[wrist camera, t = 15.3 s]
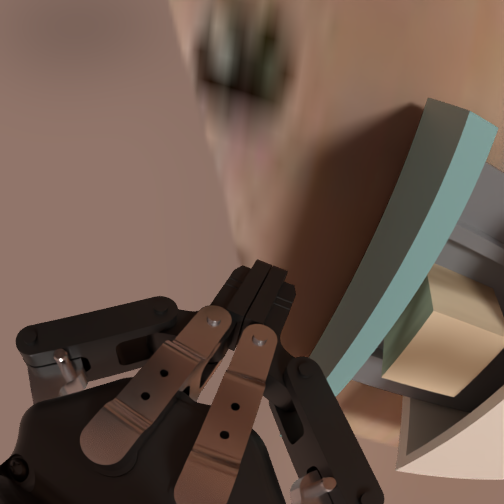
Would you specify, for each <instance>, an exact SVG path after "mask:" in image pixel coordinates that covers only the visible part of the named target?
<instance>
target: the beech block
mask: <svg viewBox="0 0 504 504" xmlns="http://www.w3.org/2000/svg"><path fill="white" fill-rule="evenodd" d="M503 348H504V317H503V314H502V311H501V308H500V305H499V303H498V300H497V298H496V295H495V292H494V290H493V288H490V287H488V286H486V285H484V284H482V283H479V282H477V281H475V280H472V279H470V278H468V277H466V276H463V275H461V274H459V273H456V272H454V271H452V270H449V269H447V268H444V267H442V266H440V265H437V264H435V263H434V264H433V266H432V268H431V269H430V271H429V273H428V274H427V276H426V278H425V279H424V281H423V282H422V284H421V285H420V287H419V289H418V290H417V292H416V293H415V295H414V296H413V298H412V299H411V301H410V302H409V304H408V305H407V307H406V308H405V310H404V311H403V312H402V314H401V315H400V317H399V318H398V320H397V321H396V322H395V324H394V325H393V327H392V328H391V329H390V331H389V332H388V333H387V335H386V336H385V337H384V347H383V362H382V374H381V377H382V378H385V379H388V380H392V381H395V382H399V383H402V384H406V385H409V386H413V387H417V388H420V389H424V390H428V391H432V392H435V393H439V394H443V395H447V396H451V397H455V396H456V395H457V394H458V393H459V392H460V391H461V390H463V389H464V388H465V387H466V386H467V385H468V384H469V383H470V382H471V381H472V380H473V379H474V378H475V377H476V376H477V375H478V374H479V373H480V372H481V371H482V370H483V369H484V368H485V367H486V366H487V365H488V364H489V363H490V362H491V361H492V360H493V359H494V358H495V357H496V356H497V355H498V354H499V352H500V351H501V350H502V349H503Z"/></svg>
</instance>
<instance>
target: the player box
mask: <svg viewBox="0 0 504 504" xmlns="http://www.w3.org/2000/svg"><path fill="white" fill-rule="evenodd" d="M395 470H396V471H401V472H407V473H414V474H422V475H430V476H438V477H449V478H462V479H489V480H493V479H495V480H499V479H501V480H503V479H504V385H503V386H502V387H501V388H500V389H499V390H498V391H496V392H495V393H494V394H493V395H492V396H491V397H489V398H488V399H487V400H486V401H485V402H483V403H482V404H481V405H480V406H478V407H477V408H476V409H475V410H473V411H472V412H471V413H469V412H465V411H460V410H456V409H452V408H448V407H444V406H440V405H436V404H432V403H428V402H424V401H421V400H417V399H413V398H410V397H406V396H403V402H402V416H401V428H400V438H399V446H398V455H397V462H396V469H395Z"/></svg>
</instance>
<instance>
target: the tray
mask: <svg viewBox="0 0 504 504" xmlns="http://www.w3.org/2000/svg"><path fill="white" fill-rule="evenodd" d="M497 130H498V127H496V126H494V125H493V124H491V123H490V122H488V121H486V120H485V119H483V118H481V117H479V116H478V115H476V114H474V113H473V112H471V111H468V110H466V109H463V108H460V107H457V106H454V105H451V104H448V103H445V102H441V101H438V100H435V99H431V98H428V99H427V102H426V105H425V108H424V111H423V114H422V117H421V120H420V123H419V126H418V129H417V131H416V134H415V137H414V140H413V142H412V145H411V148H410V151H409V153H408V156H407V158H406V161H405V164H404V166H403V169H402V171H401V174H400V176H399V179H398V181H397V184H396V186H395V188H394V191H393V193H392V195H391V198H390V200H389V202H388V205H387V207H386V209H385V212H384V214H383V216H382V218H381V221H380V223H379V225H378V227H377V229H376V232H375V234H374V236H373V238H372V240H371V242H370V244H369V247H368V249H367V251H366V253H365V255H364V257H363V259H362V261H361V263H360V265H359V267H358V269H357V271H356V273H355V275H354V277H353V279H352V281H351V283H350V285H349V287H348V289H347V290H346V292H345V294H344V296H343V298H342V300H341V302H340V304H339V306H338V307H337V309H336V311H335V313H334V315H333V317H332V318H331V320H330V322H329V324H328V325H327V327H326V329H325V331H324V333H323V334H322V336H321V338H320V339H319V341H318V343H317V345H316V346H315V348H314V350H313V351H312V353H311V355H310V356H309V358H310V359H312V360H314V361H315V362H316V363H317V364H318V365H319V366H320V368H321V370H322V372H323V374H324V376H325V377H326V379H327V381H328V383H329V385H330V387H331V389H332V391H333V393H334V395H335V397H336V396H337V395H338V394H339V393H340V392H341V391H342V389H343V388H344V387H345V386H346V385H347V384H348V382H349V381H350V380H354V381H357V382H360V383H363V384H366V385H370V386H373V387H376V388H379V389H382V390H386V391H389V392H392V393H396V394H399V395H403V396H406V397H410V398H413V399H417V400H421V401H424V402H428V403H432V404H436V405H440V406H444V407H448V408H452V409H456V410H460V411H465V412H469V413H471V412H472V411H473V410H475V409H476V408H477V407H478V406H480V405H481V404H482V403H483V402H485V401H486V400H487V399H488V398H489V397H491V396H492V395H493V394H494V393H495V392H496V391H498V390H499V389H500V388H501V387H502V386H503V385H504V348H503V349H502V350H501V351H500V352H499V354H498V355H497V356H496V357H495V358H494V359H493V360H492V361H491V362H490V363H489V364H488V365H487V366H486V367H485V368H484V369H483V370H482V371H481V372H480V373H479V374H478V375H477V376H476V377H475V378H474V379H473V380H472V381H471V382H470V383H469V384H468V385H467V386H466V387H465V388H464V389H463V390H461V391H460V392H459V393H458V394H457V395H456V396H455V397H451V396H447V395H443V394H439V393H435V392H432V391H428V390H424V389H420V388H417V387H413V386H409V385H406V384H402V383H399V382H395V381H392V380H388V379H385V378H382V377H381V374H382V362H383V347H384V337H385V336H386V335H387V333H388V332H389V331H390V329H391V328H392V327H393V325H394V324H395V322H396V321H397V320H398V318H399V317H400V315H401V314H402V312H403V311H404V310H405V308H406V307H407V305H408V304H409V302H410V301H411V299H412V298H413V296H414V295H415V293H416V292H417V290H418V289H419V287H420V285H421V284H422V282H423V281H424V279H425V278H426V276H427V274H428V273H429V271H430V269H431V268H432V266H433V264H434V263H435V264H437V265H440V266H442V267H444V268H447V269H449V270H452V271H454V272H456V273H459V274H461V275H463V276H466V277H468V278H470V279H472V280H475V281H477V282H479V283H482V284H484V285H486V286H488V287H490V288H493V290H494V292H495V295H496V298H497V300H498V303H499V305H500V308H501V311H502V314H503V317H504V172H502V171H501V170H499V169H497V168H496V167H494V166H492V165H491V164H489V163H487V162H486V159H487V157H488V154H489V152H490V149H491V147H492V144H493V141H494V139H495V136H496V133H497ZM280 437H282V436H281V434H280Z"/></svg>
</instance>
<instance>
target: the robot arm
mask: <svg viewBox="0 0 504 504" xmlns="http://www.w3.org/2000/svg"><path fill="white" fill-rule="evenodd" d="M287 272H288V271H286V270H284V269H281V268H278V267H276V266H272V265H271V264H268V263H265V262H263V261H260V260H258V259H257V260H256V262H255V263H254V265H253V267H252V268H251V269H250V268H248V267H245V266H241V267H239V268H237V269H235V270H234V271H233V272H232V274H231V276H230V277H229V279H228V280H227V281H226V283H225V285H224V286H223V287H222V289H221V290H220V291H219V293H218V294H217V296H216V297H215V299H214V300H213V302H212V303H211V305H210V306H205V307H203V308H202V309H200V310H199V311H196V312H192V311H184V310H179V309H178V308H177V305H176V303H175V302H174V301H173V300H171V299H170V298H167V297H163V296H157V297H152V298H148V299H144V300H140V301H136V302H131V303H127V304H123V305H119V306H114V307H110V308H106V309H102V310H97V311H93V312H89V313H84V314H80V315H76V316H71V317H67V318H63V319H58V320H53V321H49V322H44V323H40V324H35V325H30V326H27V327H25V328H23V329H22V330H21V331H20V332H19V333H18V335H17V337H16V346H17V348H18V350H19V352H20V354H21V355H22V357H23V360H24V362H25V363H26V365H27V367H28V374H29V381H30V387H31V393H32V398H33V404H34V405H33V406H31V407H30V408H29V409H28V410H27V411H26V412H25V414H24V415H23V417H22V420H21V423H20V427H19V434H18V439H17V443H16V447H15V449H14V451H13V453H12V455H11V456H10V457H9V459H7V460H6V461H5V462H4V463H3V464H2V465H0V504H286V502H285V499H284V497H283V494H282V491H281V489H280V486H279V483H278V480H277V477H276V474H275V472H274V468H273V466H272V463H271V460H270V457H269V454H268V451H267V448H266V446H265V444H264V442H263V441H262V439H261V438H260V436H259V435H258V434H257V433H256V432H255V431H254V430H253V429H252V427H253V424H254V421H255V418H256V415H257V412H258V409H259V405H260V402H261V399H262V396H264V397H265V398H267V399H268V400H269V406H270V408H271V411H272V413H273V416H274V418H275V421H276V423H277V426H278V429H279V431H280V434H281V436H282V439H283V441H284V443H285V446H286V448H287V451H288V453H289V455H290V458H291V461H292V463H293V465H294V468H295V470H296V473H297V475H298V477H299V479H298V480H296V481H295V482H294V483H293V485H292V487H291V489H290V496H291V504H383V503H384V494H383V492H382V490H381V488H380V486H379V483H378V481H377V480H376V477H375V475H374V473H373V471H372V469H371V468H370V465H369V464H368V461H367V459H366V457H365V455H364V453H363V451H362V449H361V447H360V445H359V443H358V441H357V439H356V437H355V435H354V433H353V431H352V429H351V427H350V425H349V423H348V421H347V419H346V417H345V415H344V413H343V411H342V409H341V407H340V405H339V403H338V401H337V399H336V397H335V395H334V393H333V391H332V389H331V387H330V385H329V383H328V381H327V379H326V377H325V376H324V374H323V372H322V370H321V368H320V366H319V365H318V364H317V363H316V362H315V361H314V360H312V359H310V358H307V357H297V358H294V357H293V356H292V355H290V354H289V353H288V352H287V351H286V350H285V349H284V348H283V346H282V344H281V342H280V334H281V331H282V329H283V326H284V324H285V321H286V319H287V316H288V314H289V311H290V308H291V306H292V303H293V301H294V298H295V295H296V293H295V287H294V285H291V284H289V283H286V282H284V281H285V278H286V275H287ZM236 346H237V348H236ZM235 348H236V350H235ZM228 349H231V350H233V351H234V350H235V353H234V355H233V357H232V360H231V362H230V365H229V367H228V369H227V370H226V372H225V374H224V376H223V379H222V381H221V383H220V386H219V388H218V391H217V393H216V395H215V398H214V400H213V402H212V405H206V404H201V403H197V399H198V397H199V395H200V393H201V391H202V390H203V389H204V387H205V386H206V384H207V382H208V381H209V380H210V378H211V377H212V375H213V374H214V372H215V371H216V369H217V368H218V367H219V365H220V364H221V362H222V359H223V357H224V356H225V354H226V352H227V351H228ZM141 367H142V368H141ZM137 368H141V369H140V370H139V371H138V373H137V374H136V375H135V376H134V377H130V378H123V379H120V380H116V381H113V382H110V383H107V384H104V385H100V386H96V387H93V388H89V389H86V390H84V389H85V388H86V386H87V384H88V382H89V381H93V380H97V379H100V378H104V377H108V376H112V375H116V374H120V373H123V372H127V371H131V370H134V369H137Z"/></svg>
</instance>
